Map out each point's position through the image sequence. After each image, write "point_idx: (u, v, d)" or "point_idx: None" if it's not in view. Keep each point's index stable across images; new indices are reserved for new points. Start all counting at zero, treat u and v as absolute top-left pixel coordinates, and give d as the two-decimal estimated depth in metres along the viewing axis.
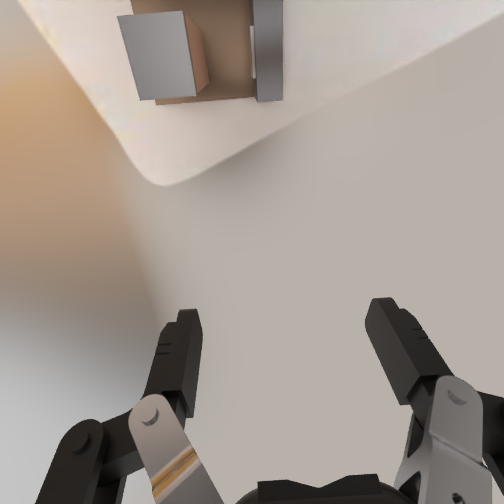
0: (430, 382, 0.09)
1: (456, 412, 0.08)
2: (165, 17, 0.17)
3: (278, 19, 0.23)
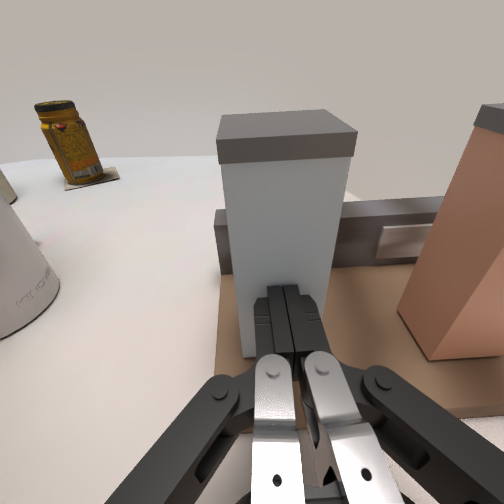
0: None
1: (328, 385, 0.09)
2: None
3: (371, 202, 0.22)
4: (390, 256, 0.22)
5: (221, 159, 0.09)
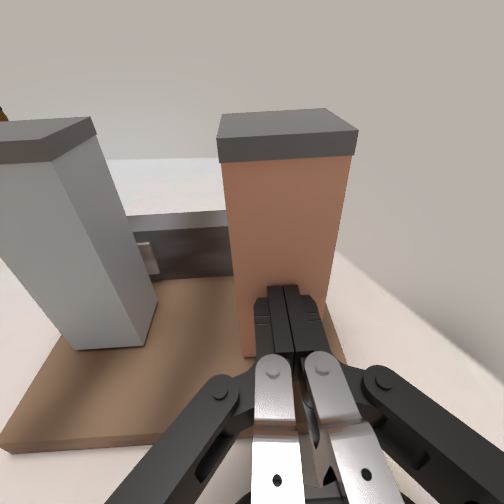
0: None
1: (328, 385, 0.09)
2: (226, 119, 0.11)
3: None
4: None
5: None
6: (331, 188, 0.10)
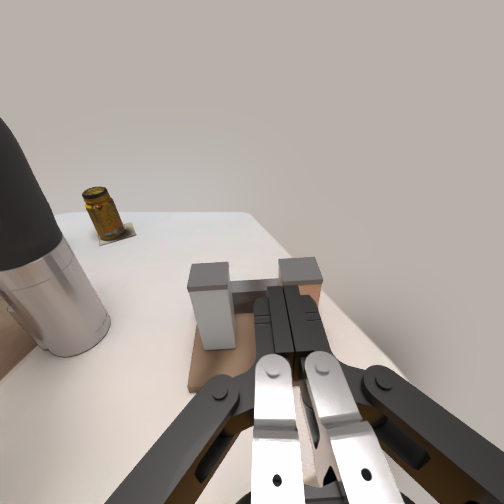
0: None
1: (328, 385, 0.09)
2: (281, 264, 0.33)
3: (274, 280, 0.42)
4: None
5: (188, 290, 0.31)
6: (315, 291, 0.32)
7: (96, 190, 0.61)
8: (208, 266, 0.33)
